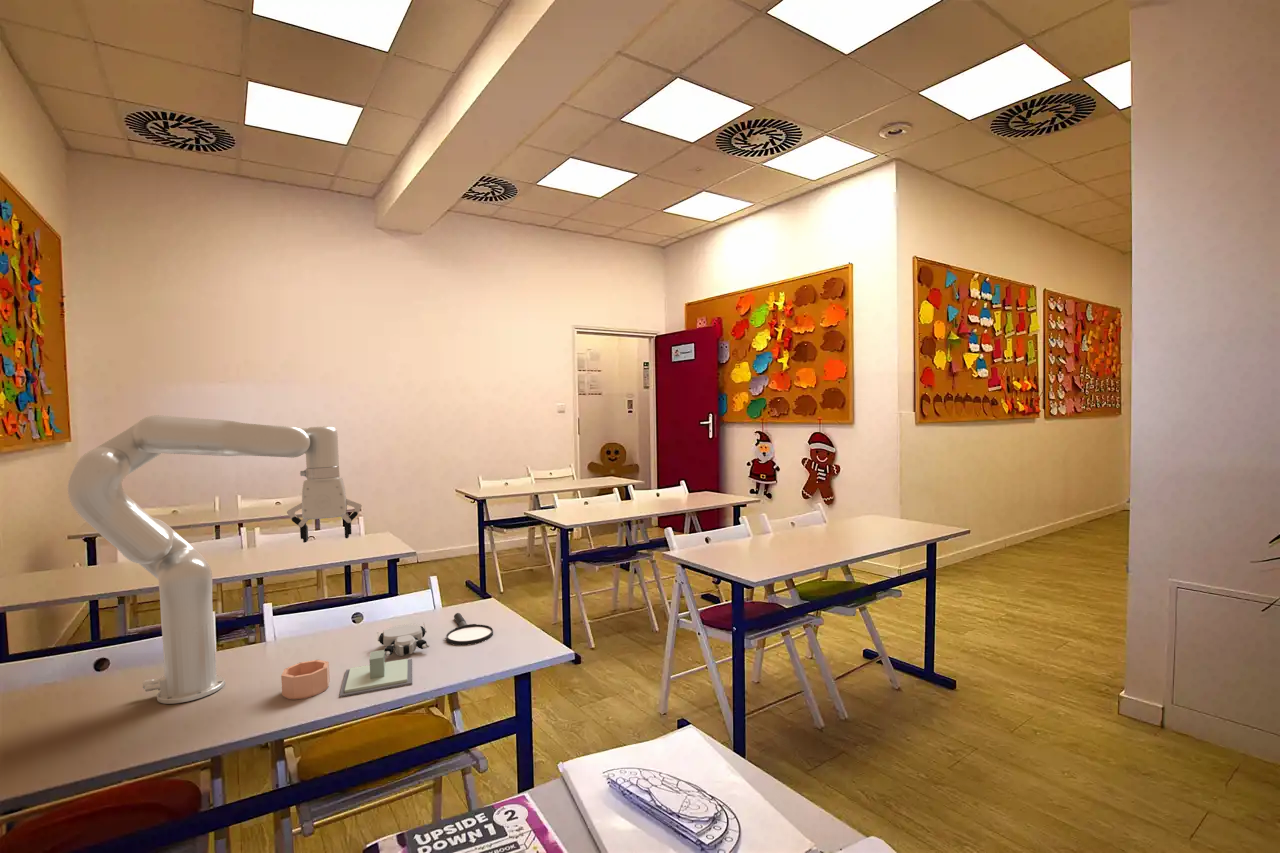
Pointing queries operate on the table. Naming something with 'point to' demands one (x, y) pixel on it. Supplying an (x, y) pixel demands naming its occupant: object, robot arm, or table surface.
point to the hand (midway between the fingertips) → (326, 539)
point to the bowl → (305, 679)
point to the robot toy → (403, 639)
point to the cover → (377, 673)
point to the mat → (409, 682)
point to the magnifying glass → (468, 632)
